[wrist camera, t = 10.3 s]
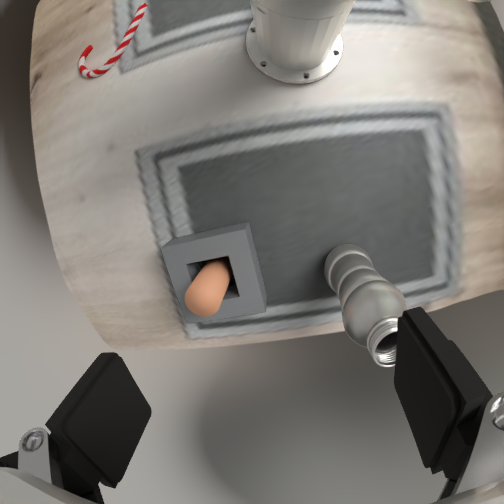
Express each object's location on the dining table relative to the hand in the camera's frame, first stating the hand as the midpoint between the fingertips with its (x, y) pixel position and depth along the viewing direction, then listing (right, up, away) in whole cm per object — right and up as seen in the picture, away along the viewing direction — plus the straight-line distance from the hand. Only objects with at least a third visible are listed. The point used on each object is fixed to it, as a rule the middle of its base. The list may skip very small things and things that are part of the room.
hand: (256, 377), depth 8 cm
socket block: (-5, +2, +32) cm, 32 cm away
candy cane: (-21, +37, +23) cm, 48 cm away
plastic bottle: (+13, +2, +30) cm, 33 cm away
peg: (-5, +2, +32) cm, 32 cm away
